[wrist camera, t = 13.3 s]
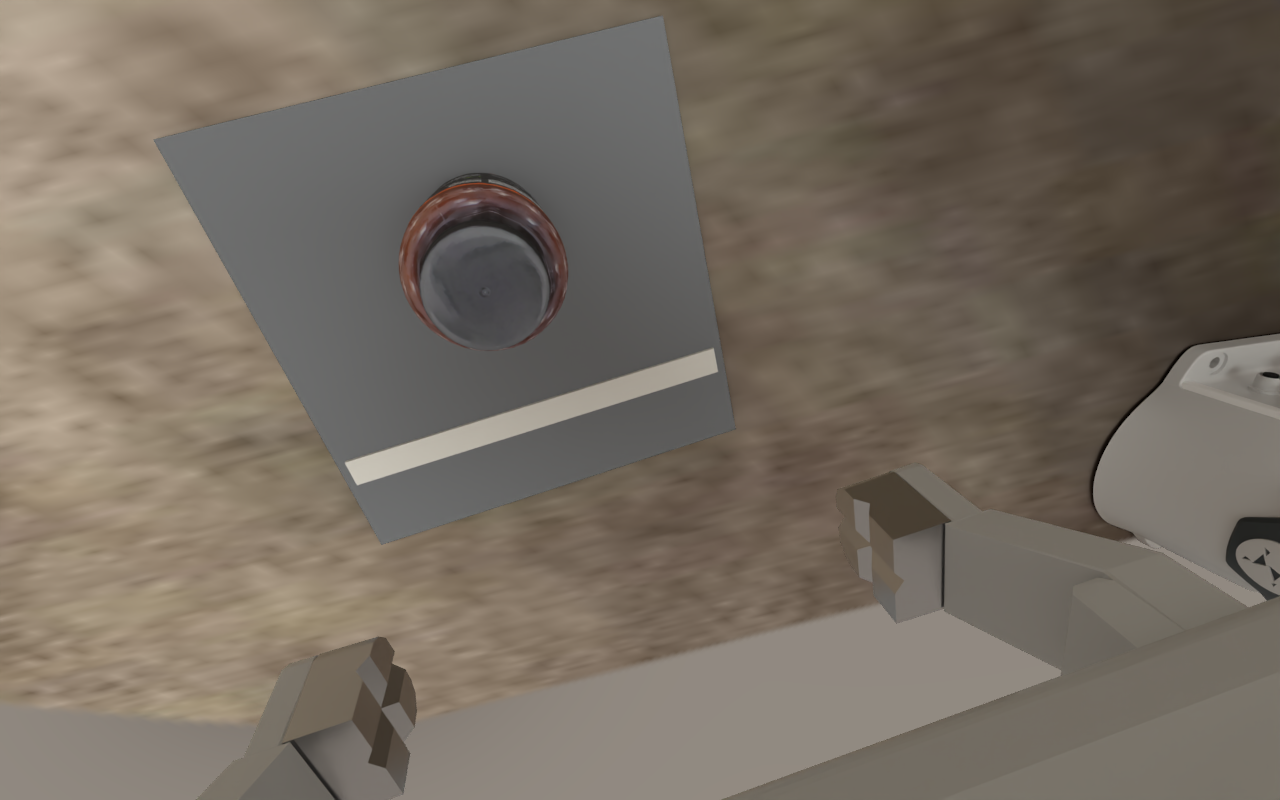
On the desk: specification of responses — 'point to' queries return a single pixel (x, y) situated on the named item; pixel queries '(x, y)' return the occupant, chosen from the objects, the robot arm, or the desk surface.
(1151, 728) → the robot arm
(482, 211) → the supplement bottle
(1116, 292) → the desk surface
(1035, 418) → the desk surface
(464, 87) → the mat
